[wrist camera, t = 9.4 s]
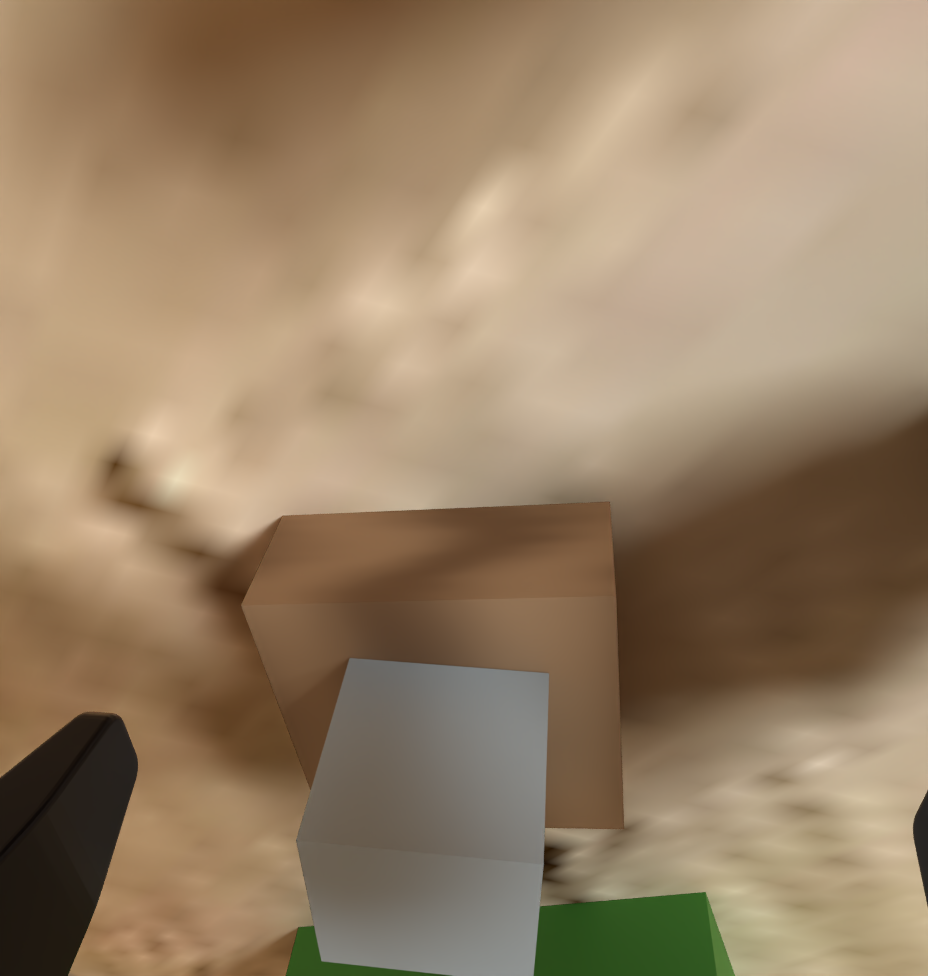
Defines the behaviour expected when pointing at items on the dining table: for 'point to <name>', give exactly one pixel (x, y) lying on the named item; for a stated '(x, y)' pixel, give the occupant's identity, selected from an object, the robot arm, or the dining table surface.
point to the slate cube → (429, 820)
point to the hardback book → (589, 941)
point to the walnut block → (454, 623)
